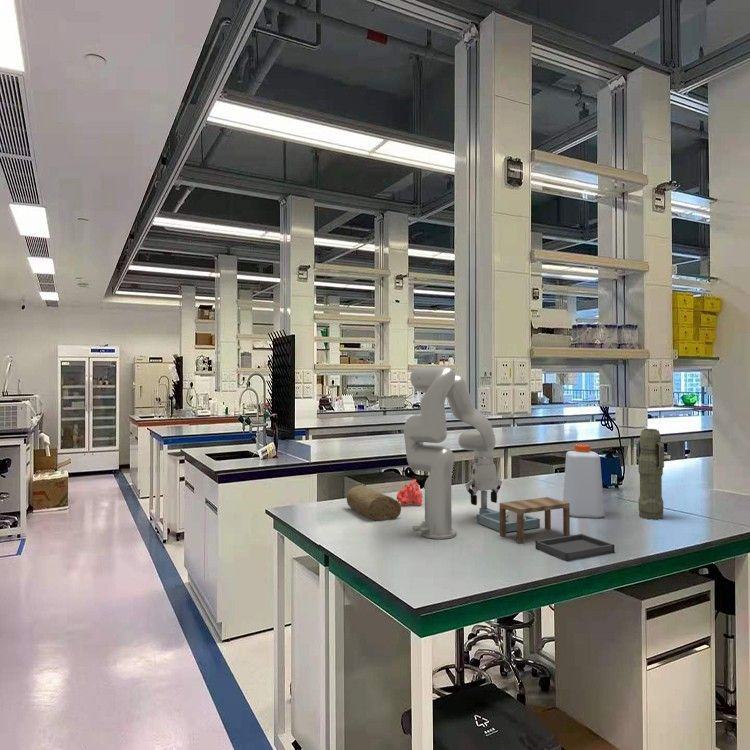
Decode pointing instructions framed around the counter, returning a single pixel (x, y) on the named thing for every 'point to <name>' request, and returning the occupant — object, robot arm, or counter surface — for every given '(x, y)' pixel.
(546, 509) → the small wooden table
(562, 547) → the tray
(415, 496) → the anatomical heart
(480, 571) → the counter surface
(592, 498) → the plastic bottle
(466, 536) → the counter surface
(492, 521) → the sliding frame
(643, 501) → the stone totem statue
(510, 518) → the grey rock
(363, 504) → the core sample
